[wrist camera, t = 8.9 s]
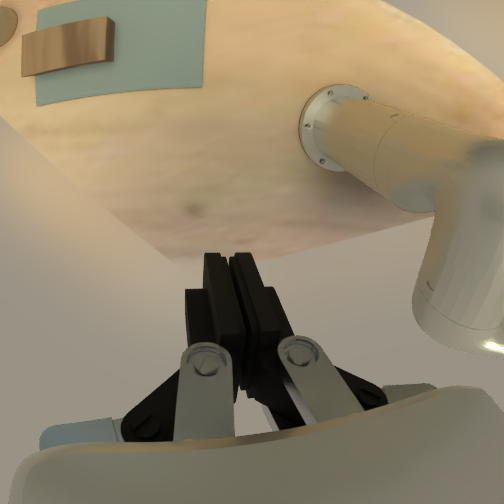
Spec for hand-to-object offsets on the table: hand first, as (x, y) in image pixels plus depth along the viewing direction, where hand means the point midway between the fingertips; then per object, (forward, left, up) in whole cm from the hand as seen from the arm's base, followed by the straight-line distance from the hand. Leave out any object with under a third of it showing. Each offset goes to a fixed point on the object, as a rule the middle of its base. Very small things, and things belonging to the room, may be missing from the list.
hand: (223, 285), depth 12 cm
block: (+9, -12, -27) cm, 31 cm away
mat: (+9, -12, -30) cm, 34 cm away
